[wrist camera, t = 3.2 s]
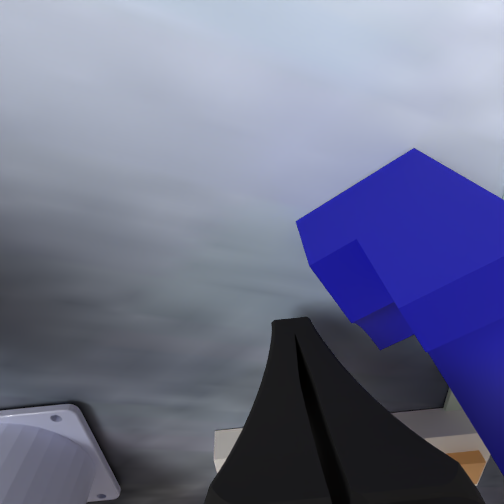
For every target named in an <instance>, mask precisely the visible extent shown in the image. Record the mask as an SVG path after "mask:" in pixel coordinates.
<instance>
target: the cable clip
mask: <svg viewBox="0 0 504 504" xmlns="http://www.w3.org/2000/svg"><path fill="white" fill-rule="evenodd" d="M296 224H297V227H298V230H299V234H300V237H301V240H302V243H303V247H304V250H305V253H306V256H307V260H308V263H309V266H310V267H311V269H312V270H313V272H314V273H315V274H316V276H317V277H318V278H319V280H320V281H321V282H322V284H323V285H324V287H325V288H326V289H327V291H328V292H329V293H330V295H331V296H332V297H333V299H334V300H335V302H336V303H337V304H338V306H339V307H340V308H341V310H342V311H343V312H344V314H345V315H346V317H347V318H348V319H349V321H350V322H351V323H356V324H357V325H359V326H360V327H361V328H362V329H363V330H364V331H365V332H366V333H367V334H368V335H369V337H370V338H371V339H372V340H373V342H374V343H375V344H376V346H377V347H378V348H379V350H382V349H384V348H386V347H389V346H391V345H393V344H395V343H397V342H399V341H401V340H403V339H406V338H408V337H410V336H412V335H414V334H415V336H416V338H417V339H418V341H419V342H420V344H421V346H422V347H423V349H424V350H425V352H428V354H429V355H430V357H431V358H432V360H433V362H434V363H435V365H436V366H437V368H438V370H439V371H440V373H441V375H442V376H443V378H444V379H445V381H446V383H447V384H448V386H449V388H450V389H451V391H452V392H453V394H454V396H455V397H456V399H457V401H458V402H459V404H460V405H461V407H462V409H463V410H464V412H465V414H466V415H467V417H468V418H469V420H470V422H471V423H472V425H473V427H474V428H475V430H476V432H477V433H478V435H479V436H480V438H481V440H482V441H483V443H484V445H485V446H486V448H487V449H488V451H489V453H490V454H491V456H492V458H493V459H494V461H495V463H496V464H497V466H498V467H499V469H500V471H501V472H502V474H503V476H504V200H503V199H501V198H499V197H498V196H496V195H494V194H492V193H491V192H489V191H487V190H485V189H484V188H482V187H480V186H479V185H477V184H475V183H473V182H472V181H470V180H468V179H466V178H465V177H463V176H461V175H460V174H458V173H456V172H454V171H453V170H451V169H449V168H447V167H446V166H444V165H442V164H441V163H439V162H437V161H435V160H434V159H432V158H430V157H429V156H427V155H425V154H423V153H422V152H420V151H418V150H416V149H415V148H413V149H412V150H410V151H409V152H407V153H405V154H404V155H402V156H401V157H399V158H397V159H396V160H394V161H392V162H391V163H389V164H388V165H386V166H384V167H383V168H381V169H380V170H378V171H376V172H375V173H373V174H371V175H370V176H368V177H367V178H365V179H363V180H362V181H360V182H359V183H357V184H355V185H354V186H352V187H351V188H349V189H347V190H346V191H344V192H342V193H341V194H339V195H338V196H336V197H334V198H333V199H331V200H330V201H328V202H326V203H325V204H323V205H321V206H320V207H318V208H317V209H315V210H313V211H312V212H310V213H309V214H307V215H305V216H304V217H302V218H301V219H299V220H297V221H296Z"/></svg>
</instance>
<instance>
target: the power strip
mask: <svg viewBox="0 0 504 504" xmlns="http://www.w3.org/2000/svg"><path fill="white" fill-rule="evenodd" d="M391 414H392V415H394V416H395V417H396V418H397V419H399V420H400V421H401V422H402V423H403V424H405V425H406V426H407V427H408V428H410V429H411V430H412V431H414V432H415V433H416V434H418V435H419V436H420V437H422V438H423V439H425V440H426V441H427V442H429V443H430V444H432V445H433V446H435V447H436V448H438V449H439V450H441V451H442V452H444V453H445V454H447V455H448V456H450V457H451V458H453V459H454V460H456V461H458V462H459V463H460V465H461V466H462V467H463V469H464V470H465V472H466V473H467V475H468V476H469V477H470V479H471V480H472V482H473V483H474V485H475V486H477V485H478V482H479V480H480V478H481V475H482V473H483V471H484V468H485V466H486V464H487V461H488V459H489V457H490V453H489V451H488V449H487V448H486V446H485V445H484V443H483V441H482V440H481V438H480V436H479V435H478V433H477V432H476V430H475V428H474V427H473V425H472V423H471V422H470V420H469V418H468V417H467V415H466V414H465V412H464V410H453V411H445V410H444V408H437V409H427V410H417V411H407V412H397V413H391ZM242 429H243V428H238V429H228V430H218V431H215V441H214V463H215V467H216V471H217V473H218V472H219V470H220V469H221V467H222V465H223V464H224V462H225V461H226V459H227V457H228V455H229V454H230V452H231V450H232V448H233V446H234V444H235V442H236V441H237V439H238V437H239V435H240V433H241V431H242Z"/></svg>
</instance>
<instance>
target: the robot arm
mask: <svg viewBox="0 0 504 504" xmlns="http://www.w3.org/2000/svg"><path fill="white" fill-rule="evenodd" d="M120 491H121V488H120V486H119V484H118V482H117V480H116V478H115V476H114V474H113V472H112V470H111V468H110V466H109V464H108V462H107V461H106V459H105V457H104V455H103V453H102V451H101V449H100V447H99V445H98V443H97V441H96V439H95V437H94V435H93V434H92V432H91V430H90V428H89V426H88V424H87V422H86V420H85V418H84V416H83V414H82V412H81V410H80V409H79V408H78V407H77V406H75V405H73V404H60V405H50V406H41V407H31V408H21V409H11V410H1V411H0V504H86V503H87V502H92V501H102V500H112V499H116V498H118V497H119V495H120ZM204 504H485V502H484V500H483V498H482V496H481V495H480V493H479V491H478V489H477V488H476V486H475V485H474V483H473V482H472V480H471V479H470V477H469V476H468V475H467V473H466V472H465V470H464V469H463V467H462V466H461V465H460V463H459V462H458V461H456V460H454V459H453V458H451V457H450V456H448V455H447V454H445V453H444V452H442V451H441V450H439V449H438V448H436V447H435V446H433V445H432V444H430V443H429V442H427V441H426V440H425V439H423V438H422V437H420V436H419V435H418V434H416V433H415V432H414V431H412V430H411V429H410V428H408V427H407V426H406V425H405V424H403V423H402V422H401V421H400V420H399V419H397V418H396V417H395V416H394V415H392V414H391V413H390V412H389V411H388V410H386V409H385V408H384V407H383V406H382V405H381V404H380V403H379V402H377V401H376V400H375V399H374V398H373V397H372V396H371V395H370V394H369V393H368V392H367V391H366V390H365V389H364V388H363V387H362V386H361V385H360V384H359V383H358V382H357V381H356V380H355V379H354V378H353V377H352V376H351V374H350V373H349V372H348V371H347V370H346V369H345V368H344V367H343V365H342V364H341V363H340V362H339V361H338V359H337V358H336V357H335V356H334V354H333V353H332V352H331V350H330V349H329V348H328V346H327V345H326V344H325V342H324V341H323V340H322V338H321V337H320V335H319V334H318V332H317V331H316V329H315V327H314V326H313V324H312V322H311V320H310V319H309V318H308V317H300V318H291V319H281V320H274V321H273V322H272V337H271V345H270V351H269V355H268V360H267V364H266V368H265V372H264V375H263V378H262V382H261V385H260V388H259V391H258V394H257V396H256V399H255V402H254V404H253V407H252V409H251V411H250V414H249V416H248V418H247V420H246V423H245V425H244V427H243V429H242V431H241V433H240V435H239V437H238V439H237V441H236V442H235V444H234V446H233V448H232V450H231V452H230V454H229V455H228V457H227V459H226V461H225V462H224V464H223V465H222V467H221V469H220V470H219V472H218V473H217V475H216V477H215V478H214V480H213V481H212V483H211V485H210V487H209V490H208V493H207V496H206V499H205V502H204Z"/></svg>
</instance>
